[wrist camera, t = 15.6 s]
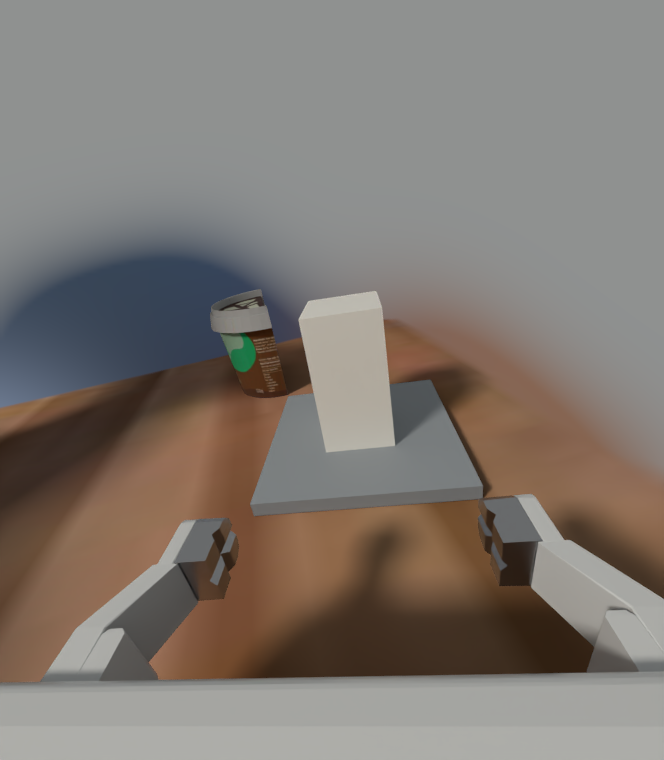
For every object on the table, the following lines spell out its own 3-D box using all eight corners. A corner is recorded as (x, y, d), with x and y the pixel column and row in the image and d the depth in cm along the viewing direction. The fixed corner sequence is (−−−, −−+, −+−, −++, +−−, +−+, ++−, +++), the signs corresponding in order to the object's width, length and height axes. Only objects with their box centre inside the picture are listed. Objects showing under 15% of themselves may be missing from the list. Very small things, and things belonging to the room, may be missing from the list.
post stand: (254, 515, 21) (215, 408, 18) (290, 404, 34) (271, 329, 30) (482, 498, 19) (488, 377, 16) (430, 388, 32) (427, 307, 28)
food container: (234, 372, 45) (210, 298, 40) (278, 361, 45) (260, 288, 41) (231, 415, 34) (198, 321, 29) (289, 400, 34) (266, 306, 30)
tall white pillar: (326, 452, 24) (298, 319, 20) (330, 415, 28) (308, 301, 24) (395, 445, 23) (381, 307, 19) (388, 409, 28) (376, 290, 24)
